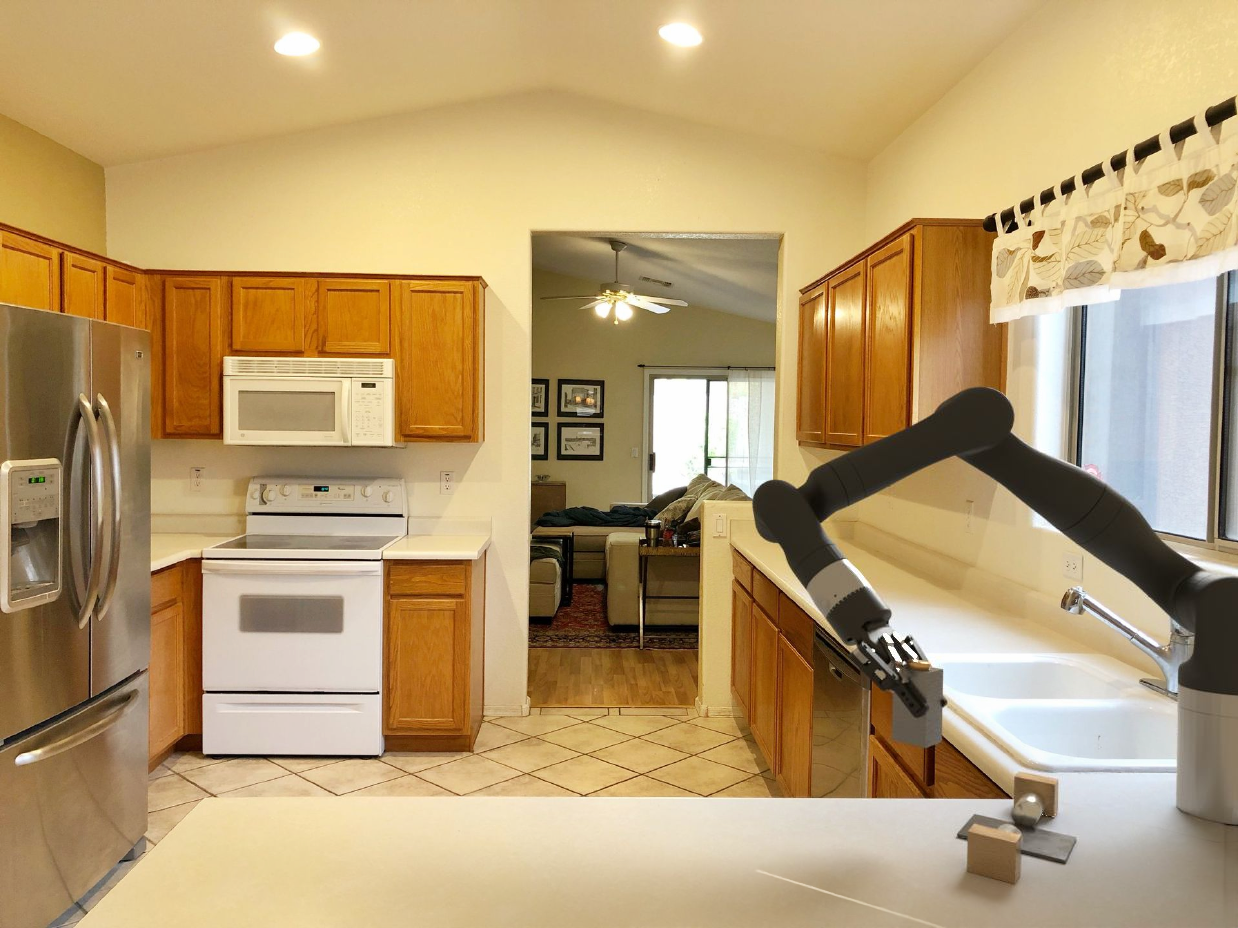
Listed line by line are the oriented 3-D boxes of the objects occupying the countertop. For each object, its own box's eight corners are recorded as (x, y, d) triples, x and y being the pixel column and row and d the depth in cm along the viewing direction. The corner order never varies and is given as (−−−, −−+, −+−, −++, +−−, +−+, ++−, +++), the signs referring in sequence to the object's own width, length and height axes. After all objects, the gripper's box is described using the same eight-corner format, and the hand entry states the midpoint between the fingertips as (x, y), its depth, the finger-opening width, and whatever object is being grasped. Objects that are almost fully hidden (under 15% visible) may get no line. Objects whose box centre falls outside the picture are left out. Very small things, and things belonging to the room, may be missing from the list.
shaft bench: (991, 797, 122) (991, 765, 122) (1086, 818, 115) (1087, 784, 115) (934, 862, 98) (935, 823, 99) (1050, 893, 92) (1051, 851, 92)
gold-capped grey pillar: (891, 739, 108) (893, 660, 108) (908, 733, 111) (910, 657, 111) (925, 747, 105) (927, 666, 105) (941, 741, 108) (943, 662, 108)
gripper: (837, 586, 109) (927, 701, 100) (892, 581, 119) (978, 685, 110) (800, 623, 112) (884, 737, 103) (857, 615, 122) (937, 719, 113)
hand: (932, 710), depth 107 cm, fingers closed on gold-capped grey pillar, 4 cm apart
